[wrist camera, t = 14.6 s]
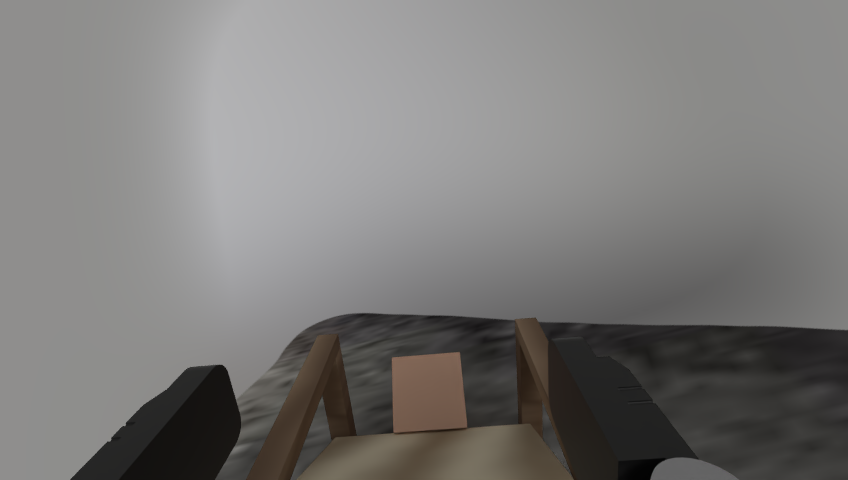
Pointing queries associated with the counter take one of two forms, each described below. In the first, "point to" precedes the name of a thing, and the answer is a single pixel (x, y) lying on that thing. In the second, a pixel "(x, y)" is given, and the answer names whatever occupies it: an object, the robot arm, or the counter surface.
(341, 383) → the wooden legged stool
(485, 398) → the counter surface
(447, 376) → the block
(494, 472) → the trapdoor
